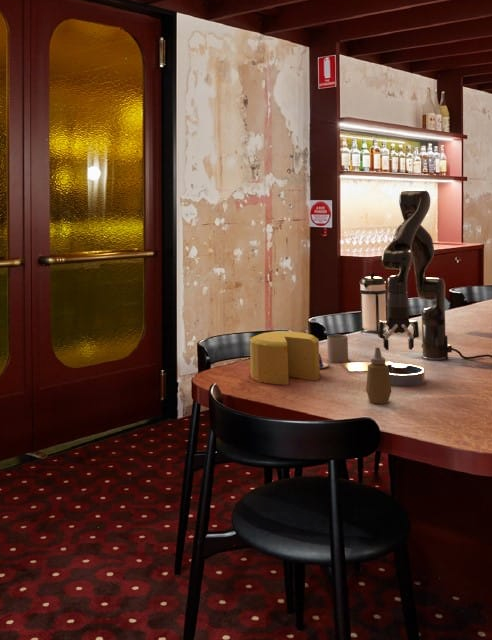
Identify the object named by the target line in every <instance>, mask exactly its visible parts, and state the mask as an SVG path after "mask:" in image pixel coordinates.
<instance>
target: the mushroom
mask: <svg viewBox="0 0 492 640" xmlns="http://www.w3.org/2000/svg"><path fill="white" fill-rule="evenodd" d="M402 364H403V363H394V365H392V372H393V373H396V374H400V375H404V373H407V366H406V365H402Z"/></svg>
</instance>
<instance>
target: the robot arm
mask: <svg viewBox="0 0 492 640" xmlns="http://www.w3.org/2000/svg"><path fill="white" fill-rule="evenodd" d="M398 196H399V197H398V202H399V209H400V213H401V217H402V219H403V222H401V223H400V224H399V225H398V227H397V228H396V230H395V233H394V236H393V238H392V241H391V242H390V243H389V244H388V245H387V247H386V248H385V249H384V250H383V252H382V254H381V258H380V261H381V265H382V266H383V268H385V269H386V270H399V273H398V274H395V275H390V276H388V277H387V278H386V288H387V289H386V293H387V294H386V322H383V321H379V322H378V334H377V337H378V338H380V339H382V341H383V342H382V343H383V348H384V350H385V351H389V349H390V345H389V344H390V343H389V342H390V341H389V338H390V336H392V335H393V334H404V333H405V334H406V335H407V337H408V341H407V343H408V349H409V350H412V351H413V349H414V347H415V342H414V341H415V339H419V337H420V331H419V322H418V321H417V320H416V319H413V320H410V316H409V315H410V313H409V312H410V311H409V295H408V278H409V272H410V269H411V265H412V264H413V265H412V266H413V271H414V278H415V286H416V292H417V296H418V298H419V299H420V300H423V301H435V303H434V304H433V305H432V306H428V307H426V308H423V309H421V339H422V342H421V348H422V359H424V360H430V361H444V360H448V359H449V354H450V353H452V352H455V353H457V354H458V355H459V356H460V357H461V358H462V359H465V360H473V359H477V358H478V359H479V358H486V357H487V358H491V359H492V354H478V355H474V356H465V355H463V354H462V353H461V351H460V350H459V349H456V348H454V347H453V346H452V345H451V344H449V342H448V335H446V332H447V331H446V283H445V282H446V281H445V280H444V279H443V278H442V277H441V278H440V277H426V275H425V273H426V270H427V268H428V266H429V265H430V263H431V261H432V260H433V258H434V256H435V246H434V241H433V237H432V235H431V234H430V232H428V230H427V229H426V228H425V227H424V226H423V225H422V223H423V222H424V220H425V218H426V216H427V214H428V213H429V210H430V207H431V195H430V193H429V192H428V191H427V190H425V189H407V190H402V191H401V192H400V193H399V195H398ZM409 251H410V252H409ZM385 325H387V327H388V328H386V330H387V331H386V330H385V333H384V329H383V328H384V327H385ZM410 325H411V327H412V330H413V331H412V332H413V333H412V332H411V331H410V330H409V329H408V328H410Z"/></svg>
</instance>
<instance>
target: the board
mask: <svg viewBox="0 0 492 640" xmlns="http://www.w3.org/2000/svg"><path fill="white" fill-rule="evenodd" d="M369 364H371V361H367V362H366V361H365V362H344V363H342V367H343V368H344V369H345V370H347V371H348V372H349V373H367V371H368V365H369ZM385 364H395V363H394V362H393V361H385Z"/></svg>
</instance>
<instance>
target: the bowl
mask: <svg viewBox="0 0 492 640" xmlns="http://www.w3.org/2000/svg"><path fill="white" fill-rule="evenodd" d="M394 364H395V363H394ZM394 364H386V365H387V366H388V369H389V377H390V384H391V387H392V386H393V387H415V386H420V385H423V384H424V383H425V381H426V379H425V378H426V377H425V369H424V368H423V367H421V366H417V365H413V364H405V363H401V364H402V365H406V366H407V373H404V375H400V374H396V373H393V372H392V365H394Z"/></svg>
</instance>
